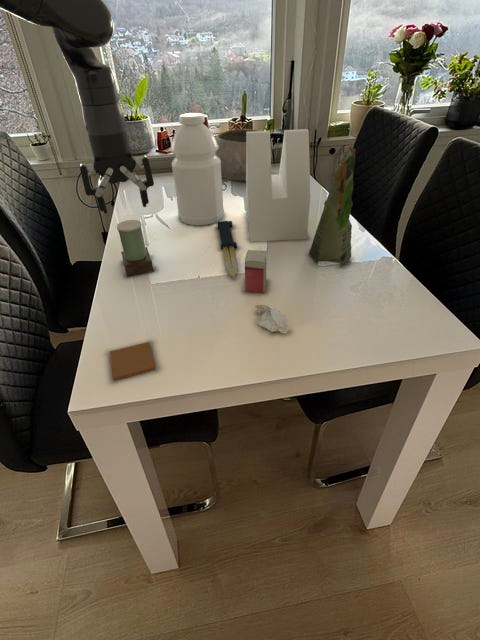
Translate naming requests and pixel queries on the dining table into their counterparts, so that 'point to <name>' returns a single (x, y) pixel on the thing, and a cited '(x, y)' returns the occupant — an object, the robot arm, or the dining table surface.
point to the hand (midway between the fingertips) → (125, 209)
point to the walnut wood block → (138, 265)
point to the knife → (228, 246)
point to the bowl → (233, 153)
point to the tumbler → (132, 240)
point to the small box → (255, 271)
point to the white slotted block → (278, 187)
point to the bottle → (197, 172)
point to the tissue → (272, 319)
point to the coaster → (131, 360)
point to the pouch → (336, 216)
